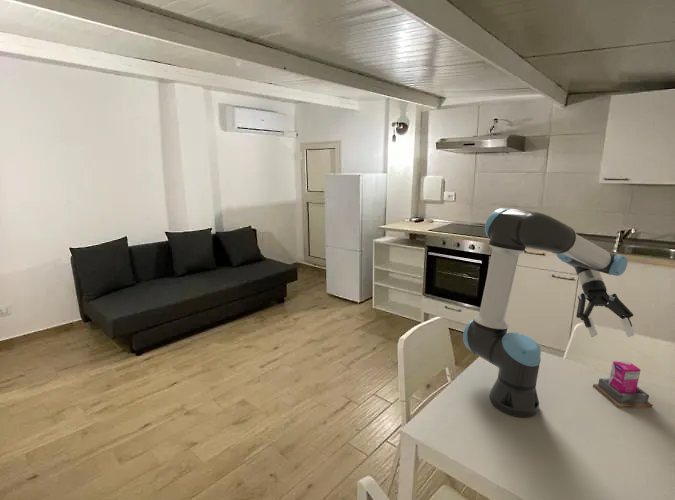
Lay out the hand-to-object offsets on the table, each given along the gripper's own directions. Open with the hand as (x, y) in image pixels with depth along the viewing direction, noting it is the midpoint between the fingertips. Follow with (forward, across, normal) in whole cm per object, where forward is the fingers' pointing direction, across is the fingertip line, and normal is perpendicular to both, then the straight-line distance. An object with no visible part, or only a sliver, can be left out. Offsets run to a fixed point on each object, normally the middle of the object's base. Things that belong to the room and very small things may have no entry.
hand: (612, 336), depth 137 cm
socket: (+20, 0, -7) cm, 21 cm away
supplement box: (+19, +1, -6) cm, 20 cm away
